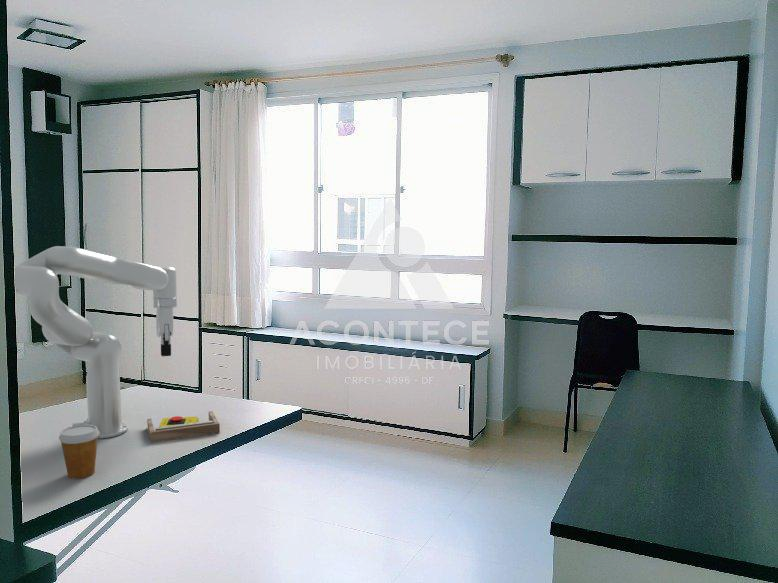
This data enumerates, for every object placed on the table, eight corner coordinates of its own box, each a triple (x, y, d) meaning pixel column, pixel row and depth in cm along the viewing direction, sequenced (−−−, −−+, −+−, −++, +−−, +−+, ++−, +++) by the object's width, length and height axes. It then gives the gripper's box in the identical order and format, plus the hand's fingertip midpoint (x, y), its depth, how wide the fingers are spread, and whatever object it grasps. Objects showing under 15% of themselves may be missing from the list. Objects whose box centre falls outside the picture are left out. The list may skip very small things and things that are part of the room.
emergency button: (157, 414, 200) (205, 412, 203) (158, 427, 201) (205, 425, 204) (152, 423, 191) (202, 421, 194) (153, 437, 192) (203, 434, 195)
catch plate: (155, 437, 189) (155, 427, 189) (212, 429, 196) (212, 420, 196) (156, 438, 188) (155, 429, 188) (213, 430, 195) (212, 421, 195)
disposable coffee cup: (73, 466, 167) (71, 423, 166) (107, 467, 167) (105, 424, 165) (53, 481, 158) (50, 435, 156) (89, 481, 157) (87, 436, 156)
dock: (147, 428, 199) (147, 419, 198) (212, 419, 207) (212, 411, 207) (150, 442, 186) (150, 432, 186) (219, 432, 194) (219, 423, 194)
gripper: (152, 300, 216) (153, 352, 218) (154, 305, 202) (155, 360, 204) (174, 300, 219) (175, 351, 221) (178, 304, 205) (179, 359, 207)
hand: (166, 355), depth 212 cm, fingers closed
